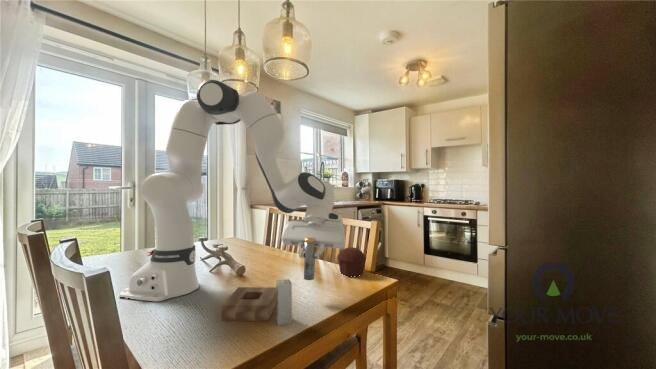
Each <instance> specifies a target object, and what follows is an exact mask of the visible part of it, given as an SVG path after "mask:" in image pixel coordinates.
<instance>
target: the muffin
mask: <svg viewBox="0 0 656 369" xmlns="http://www.w3.org/2000/svg"><path fill="white" fill-rule="evenodd" d="M336 258H337V260H338V266H339V272H341V273H340V275H341V274H343V275H345V276H352V277H351V278H353V277H354V276H359V275H361V274H362V273H363V274H364V269H365V263H366V260H367V257H366V255H365V254H364V252H363V251H362V250H361V249H359V248H357V247H353V246H352V247H350V246H349V247H345V248H342V250H341V251H339V253H338V255H337V257H336ZM345 276H344V277H345ZM361 276H362V275H361ZM354 278H355V277H354Z"/></svg>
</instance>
